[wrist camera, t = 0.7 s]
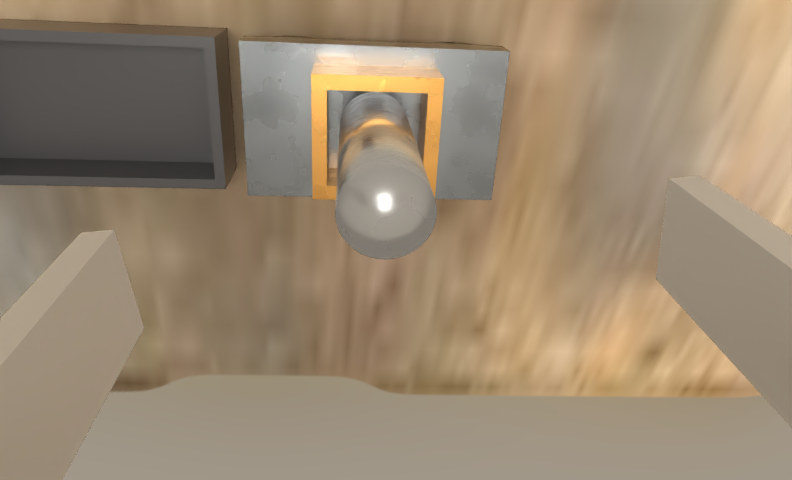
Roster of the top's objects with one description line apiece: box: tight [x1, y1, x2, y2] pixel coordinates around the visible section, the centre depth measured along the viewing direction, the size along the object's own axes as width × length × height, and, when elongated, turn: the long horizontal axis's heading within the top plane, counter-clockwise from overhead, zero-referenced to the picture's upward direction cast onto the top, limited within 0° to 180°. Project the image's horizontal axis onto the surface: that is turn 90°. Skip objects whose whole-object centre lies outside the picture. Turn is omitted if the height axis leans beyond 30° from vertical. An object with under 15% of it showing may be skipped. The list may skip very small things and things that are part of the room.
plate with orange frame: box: [239, 36, 510, 200], centre depth 37 cm, size 15×9×8 cm, turn 87°
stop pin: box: [335, 92, 437, 259], centre depth 30 cm, size 4×4×13 cm
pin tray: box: [0, 19, 236, 189], centre depth 37 cm, size 16×9×4 cm, turn 87°
